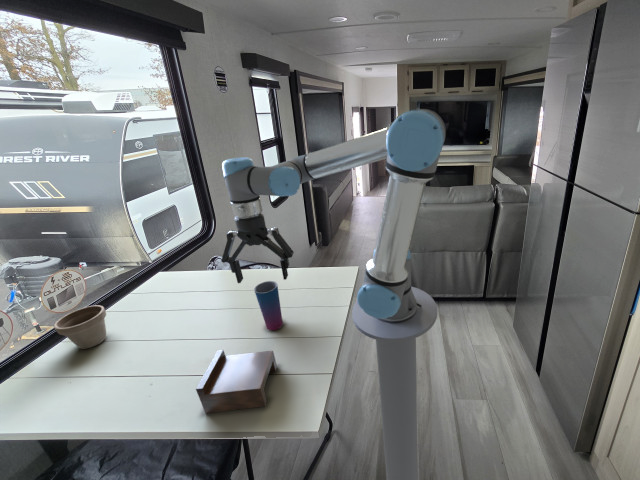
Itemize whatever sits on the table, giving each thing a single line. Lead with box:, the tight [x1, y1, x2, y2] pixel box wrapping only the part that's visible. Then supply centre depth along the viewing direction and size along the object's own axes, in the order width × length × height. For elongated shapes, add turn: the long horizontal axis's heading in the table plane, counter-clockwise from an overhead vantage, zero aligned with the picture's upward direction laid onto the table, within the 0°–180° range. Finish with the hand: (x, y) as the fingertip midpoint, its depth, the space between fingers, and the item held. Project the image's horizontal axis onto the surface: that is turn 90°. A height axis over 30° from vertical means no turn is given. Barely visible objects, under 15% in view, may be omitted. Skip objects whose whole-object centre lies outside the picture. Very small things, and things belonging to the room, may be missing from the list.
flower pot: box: [53, 304, 107, 350], centre depth 96 cm, size 12×11×10 cm
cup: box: [253, 280, 284, 331], centre depth 99 cm, size 7×7×15 cm
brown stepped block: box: [195, 349, 278, 414], centre depth 78 cm, size 14×12×8 cm
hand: (263, 279), depth 95 cm, fingers open, 13 cm apart
